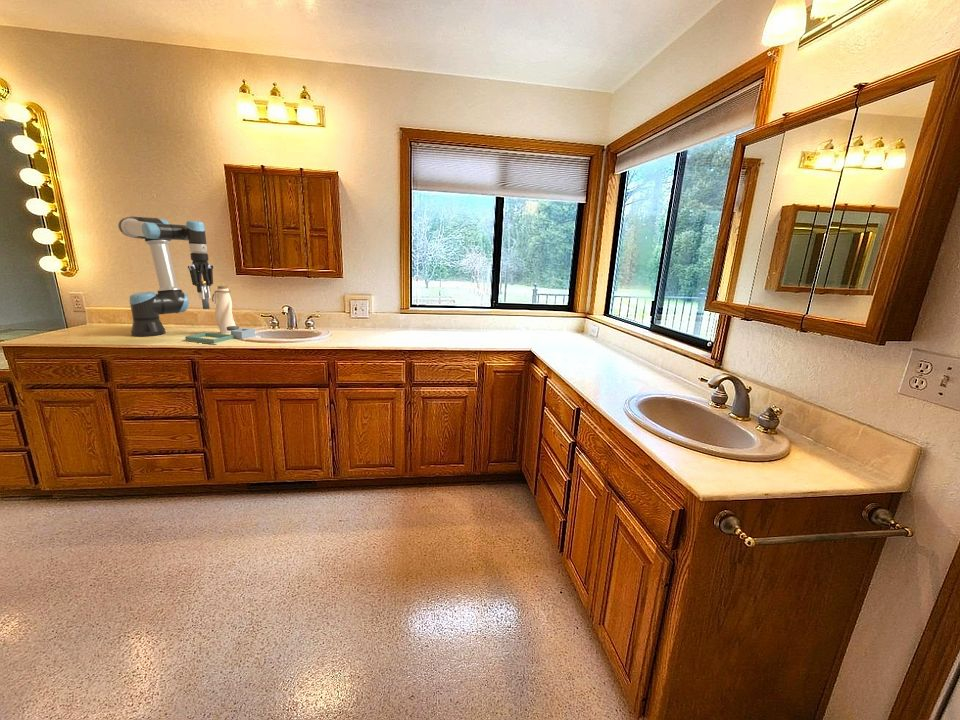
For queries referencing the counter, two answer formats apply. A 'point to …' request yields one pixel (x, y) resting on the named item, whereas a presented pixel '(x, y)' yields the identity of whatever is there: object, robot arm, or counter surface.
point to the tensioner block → (241, 332)
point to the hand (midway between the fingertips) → (204, 298)
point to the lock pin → (205, 301)
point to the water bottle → (223, 309)
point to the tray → (207, 341)
